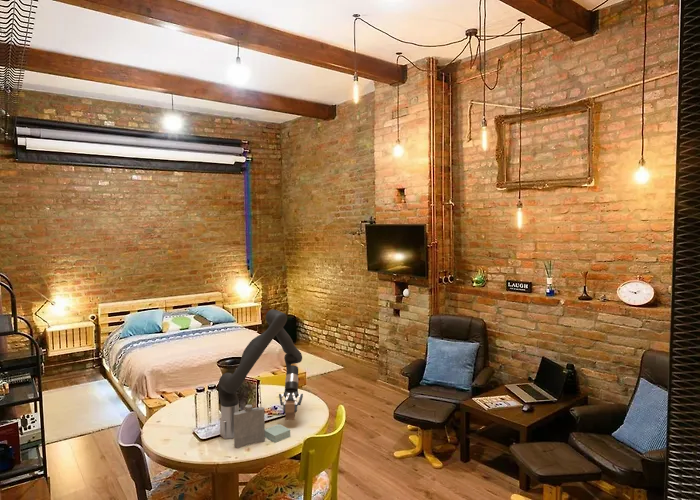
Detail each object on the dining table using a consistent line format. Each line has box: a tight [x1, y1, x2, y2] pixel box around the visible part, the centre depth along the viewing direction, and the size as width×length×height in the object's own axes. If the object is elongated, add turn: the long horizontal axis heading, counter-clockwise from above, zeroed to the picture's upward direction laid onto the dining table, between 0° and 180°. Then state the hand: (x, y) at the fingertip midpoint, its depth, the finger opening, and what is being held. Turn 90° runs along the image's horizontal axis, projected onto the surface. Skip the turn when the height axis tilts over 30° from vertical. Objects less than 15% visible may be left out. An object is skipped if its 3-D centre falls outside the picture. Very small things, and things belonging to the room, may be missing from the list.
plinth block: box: [265, 423, 291, 444], centre depth 247 cm, size 10×10×4 cm
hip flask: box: [233, 404, 266, 449], centre depth 239 cm, size 16×4×20 cm, turn 119°
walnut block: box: [284, 401, 296, 421], centre depth 258 cm, size 5×5×9 cm
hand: (290, 412), depth 257 cm, fingers closed on walnut block, 5 cm apart
